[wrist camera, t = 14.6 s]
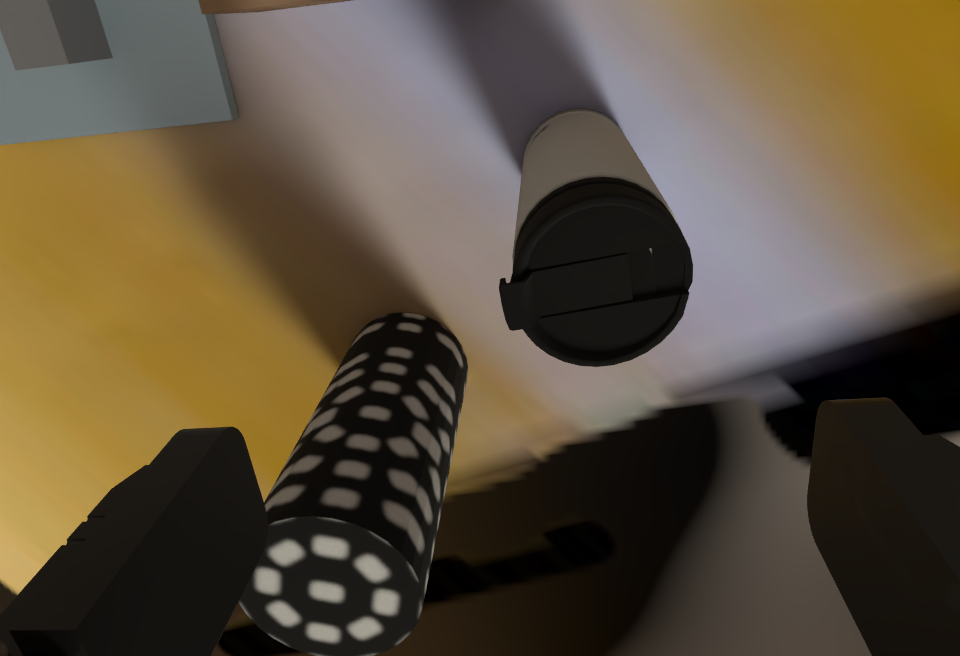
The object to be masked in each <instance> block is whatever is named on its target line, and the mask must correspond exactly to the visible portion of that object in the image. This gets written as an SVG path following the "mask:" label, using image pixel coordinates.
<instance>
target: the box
mask: <svg viewBox="0 0 960 656" xmlns="http://www.w3.org/2000/svg"><path fill="white" fill-rule="evenodd" d="M198 1H199V5H200V8H201V12H202V14H223V13H246V12H262V11H270V10H278V9H286V8H294V7H302V6H310V5H318V4H326V3H335V2H343V1H351V0H198Z"/></svg>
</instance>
